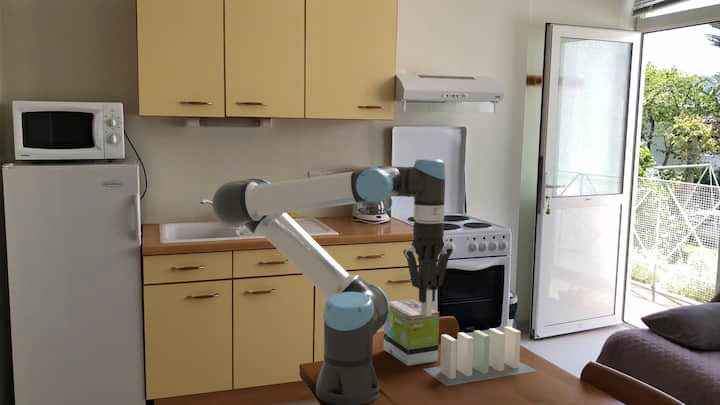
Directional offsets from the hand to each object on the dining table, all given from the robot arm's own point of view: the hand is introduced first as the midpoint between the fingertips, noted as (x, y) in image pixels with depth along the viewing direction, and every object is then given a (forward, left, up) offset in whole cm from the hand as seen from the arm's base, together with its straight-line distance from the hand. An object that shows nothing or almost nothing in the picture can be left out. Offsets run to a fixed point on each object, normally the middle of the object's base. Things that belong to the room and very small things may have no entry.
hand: (426, 314), depth 150 cm
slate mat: (+17, 0, -17) cm, 24 cm away
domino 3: (+22, 0, -17) cm, 28 cm away
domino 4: (+27, 0, -17) cm, 32 cm away
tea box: (+5, +17, -18) cm, 25 cm away
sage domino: (+17, 0, -17) cm, 24 cm away
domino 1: (+7, 0, -17) cm, 18 cm away
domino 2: (+12, 0, -17) cm, 21 cm away
